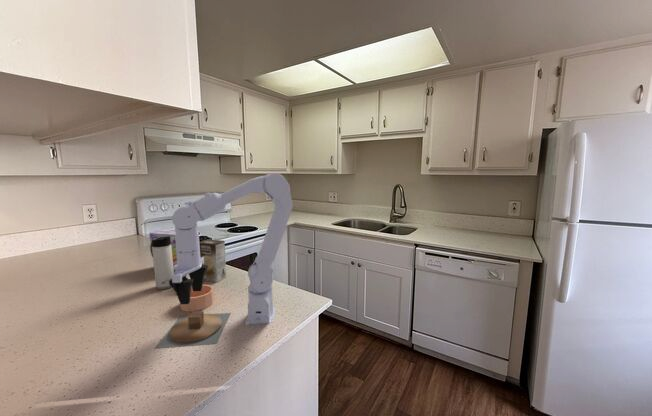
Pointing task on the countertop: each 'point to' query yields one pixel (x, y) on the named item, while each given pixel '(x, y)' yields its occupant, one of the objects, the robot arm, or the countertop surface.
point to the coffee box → (213, 259)
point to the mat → (213, 339)
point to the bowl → (200, 299)
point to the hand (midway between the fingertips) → (191, 296)
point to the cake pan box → (173, 243)
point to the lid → (195, 327)
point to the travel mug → (162, 262)
